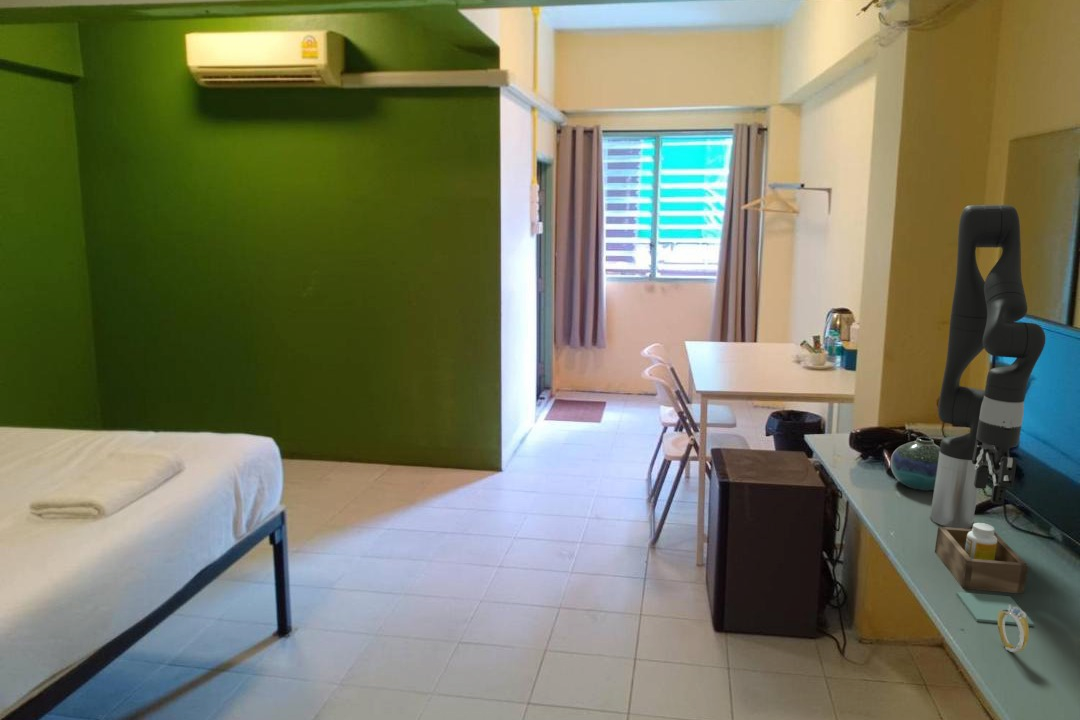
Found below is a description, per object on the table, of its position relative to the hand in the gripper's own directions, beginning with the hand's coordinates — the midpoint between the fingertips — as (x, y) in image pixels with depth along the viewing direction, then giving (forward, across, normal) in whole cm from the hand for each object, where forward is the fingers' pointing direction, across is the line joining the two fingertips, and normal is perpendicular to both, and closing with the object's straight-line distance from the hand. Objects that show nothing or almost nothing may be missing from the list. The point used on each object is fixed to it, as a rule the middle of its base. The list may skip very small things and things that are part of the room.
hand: (988, 495), depth 163 cm
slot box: (+17, 0, 0) cm, 17 cm away
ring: (+18, +30, -6) cm, 35 cm away
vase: (+17, -50, +4) cm, 53 cm away
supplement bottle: (+17, 0, 0) cm, 17 cm away
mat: (+17, +16, -3) cm, 23 cm away
